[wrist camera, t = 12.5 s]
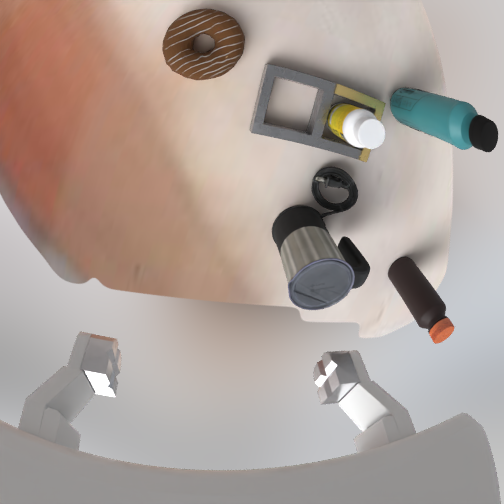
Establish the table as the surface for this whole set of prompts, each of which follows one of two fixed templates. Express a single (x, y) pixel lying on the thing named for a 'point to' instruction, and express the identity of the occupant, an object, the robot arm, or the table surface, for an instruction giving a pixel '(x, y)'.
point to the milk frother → (319, 248)
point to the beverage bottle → (444, 119)
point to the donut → (211, 62)
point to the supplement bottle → (355, 126)
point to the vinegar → (421, 299)
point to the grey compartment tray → (318, 113)
